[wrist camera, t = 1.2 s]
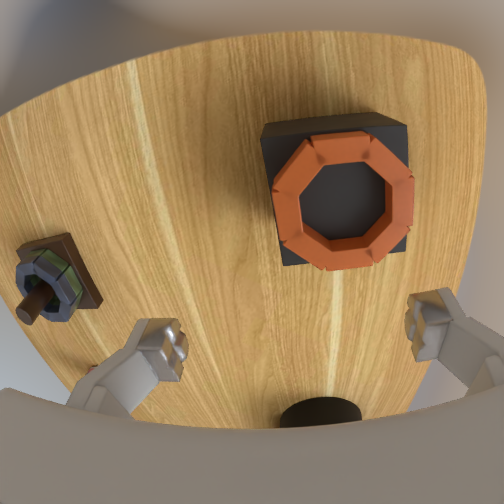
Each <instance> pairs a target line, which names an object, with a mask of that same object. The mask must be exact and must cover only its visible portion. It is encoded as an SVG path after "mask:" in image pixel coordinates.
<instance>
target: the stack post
mask: <svg viewBox="0 0 504 504" xmlns="http://www.w3.org/2000/svg"><path fill="white" fill-rule="evenodd" d="M16 252H17V254H18V256H19V258H20V260H21V262H20V263H19V264H18V265H17V266H16V284H17V287H18V289H19V291H20V292H21V294H22V295H23V297H24V299H23V300H22V302H21V303H20V304H19V305H18V306H17V308H16V314H17V316H18V317H19V319H20V320H21V321H22V322H24V323H25V324H27V325H32V324H33V323H34V321H35V320H36V318H37V317H38V316H39V314H40V315H42V316H43V317H44V318H46V319H47V320H50V321H51V322H67V321H69V319H70V318H71V316H72V315H73V313H74V312H75V310H76V309H98V308H99V306H100V305H101V303H102V301H103V299H102V297H101V295H100V293H99V292H98V290H97V288H96V286H95V284H94V282H93V280H92V278H91V277H90V275H89V273H88V271H87V269H86V267H85V265H84V263H83V261H82V259H81V257H80V255H79V252H78V250H77V248H76V246H75V244H74V242H73V240H72V237H71V235H70V233H66V234H62V235H58V236H54V237H50V238H46V239H42V240H38V241H34V242H30V243H26V244H23V245H21V246H20V247H19V248H18V249H17V250H16Z"/></svg>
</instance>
